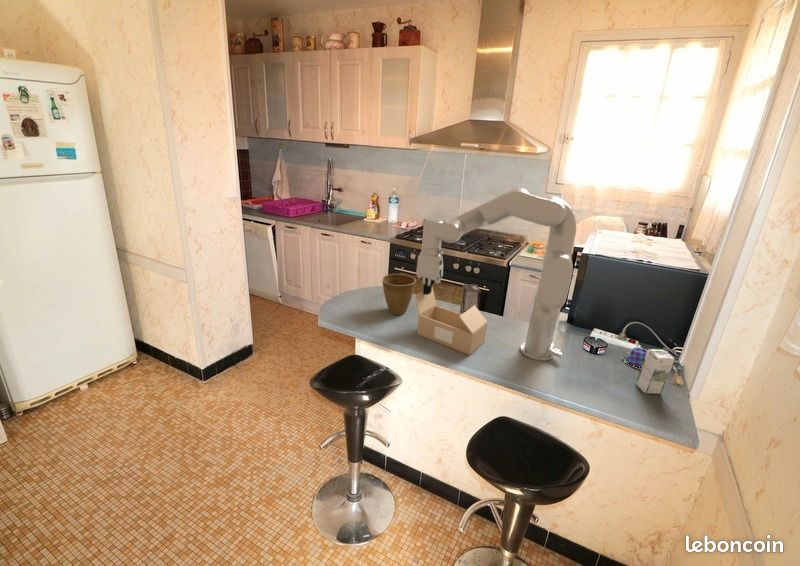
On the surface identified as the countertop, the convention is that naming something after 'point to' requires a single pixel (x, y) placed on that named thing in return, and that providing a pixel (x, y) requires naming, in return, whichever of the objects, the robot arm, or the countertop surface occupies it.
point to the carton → (449, 330)
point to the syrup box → (654, 371)
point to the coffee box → (470, 297)
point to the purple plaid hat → (636, 356)
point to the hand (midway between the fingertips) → (427, 293)
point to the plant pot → (398, 292)
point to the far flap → (425, 301)
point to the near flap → (473, 319)
